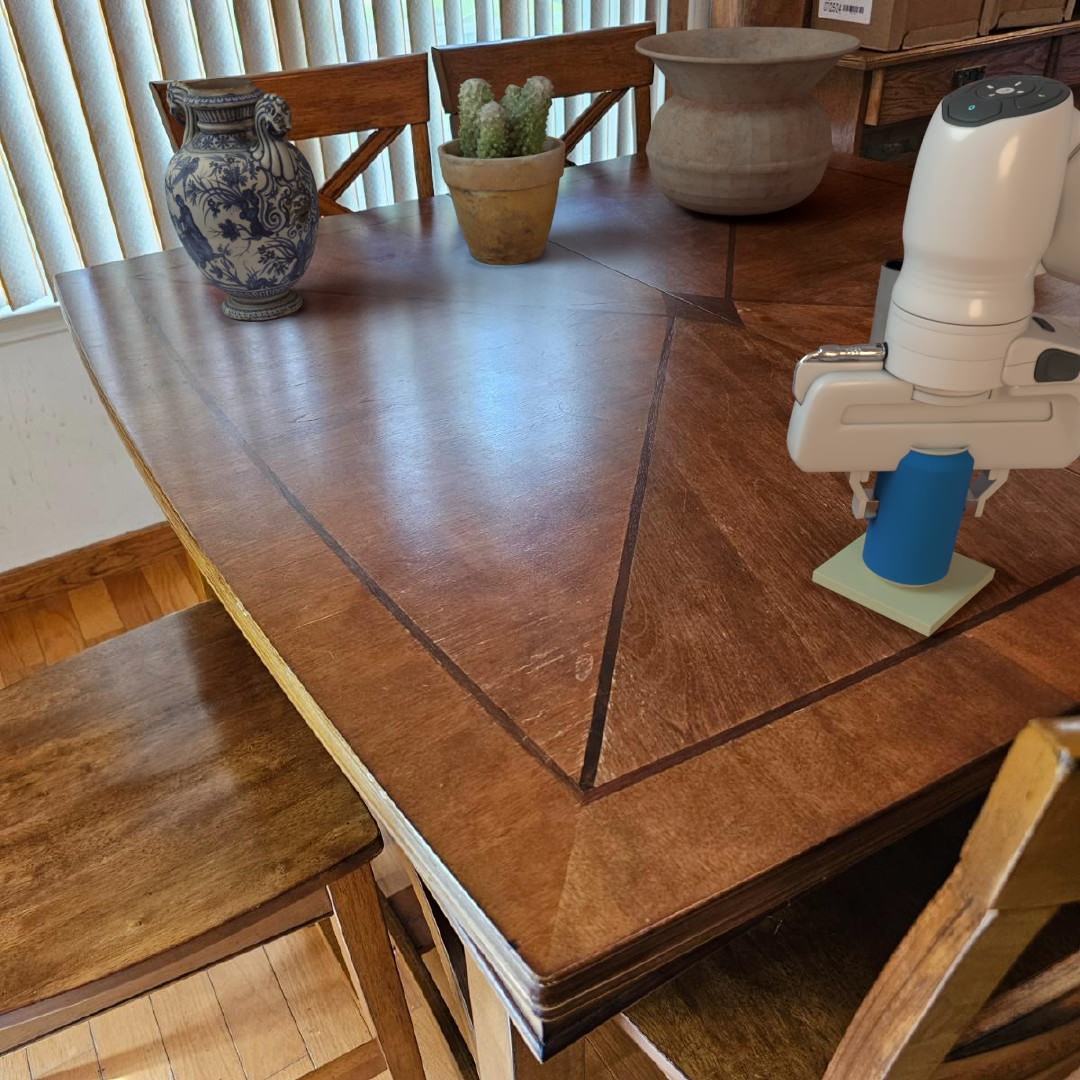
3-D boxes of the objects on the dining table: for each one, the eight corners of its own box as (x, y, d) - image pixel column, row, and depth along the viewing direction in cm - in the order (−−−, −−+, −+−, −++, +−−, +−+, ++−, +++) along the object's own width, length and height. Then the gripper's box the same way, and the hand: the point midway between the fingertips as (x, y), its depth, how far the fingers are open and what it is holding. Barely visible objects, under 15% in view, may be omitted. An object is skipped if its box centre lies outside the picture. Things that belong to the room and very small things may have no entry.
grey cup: (875, 360, 113) (890, 271, 107) (863, 344, 116) (876, 258, 111) (914, 358, 113) (931, 269, 107) (901, 342, 116) (917, 256, 111)
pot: (752, 252, 145) (769, 66, 131) (589, 209, 167) (589, 46, 153) (879, 203, 164) (906, 36, 150) (718, 170, 185) (728, 21, 171)
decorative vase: (369, 298, 135) (339, 75, 119) (269, 345, 122) (221, 102, 107) (260, 274, 145) (219, 65, 129) (157, 315, 132) (98, 89, 117)
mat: (992, 579, 78) (995, 568, 77) (928, 637, 72) (931, 626, 72) (878, 530, 84) (880, 520, 83) (811, 581, 78) (813, 570, 78)
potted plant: (432, 271, 143) (414, 85, 129) (463, 233, 158) (450, 62, 144) (556, 275, 140) (552, 84, 126) (576, 235, 155) (573, 61, 141)
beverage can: (965, 576, 76) (1000, 439, 70) (905, 603, 74) (935, 464, 67) (902, 537, 81) (929, 405, 74) (843, 561, 79) (865, 427, 72)
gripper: (806, 364, 65) (784, 539, 72) (1125, 358, 64) (1068, 535, 72) (789, 328, 70) (770, 494, 78) (1083, 321, 69) (1034, 490, 77)
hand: (915, 514), depth 75 cm, fingers closed on beverage can, 6 cm apart
